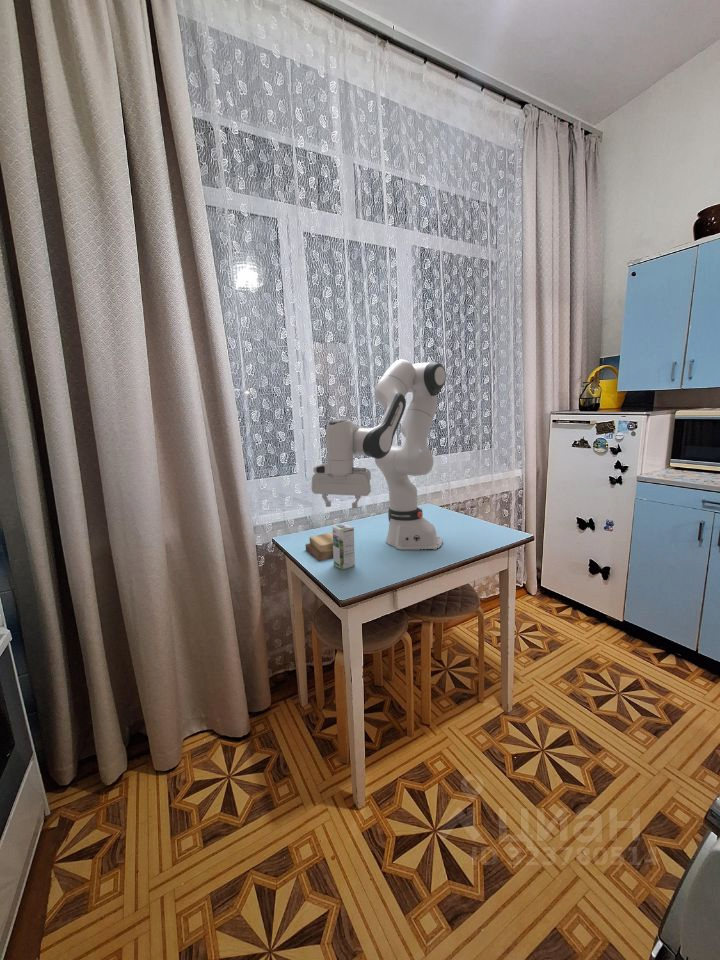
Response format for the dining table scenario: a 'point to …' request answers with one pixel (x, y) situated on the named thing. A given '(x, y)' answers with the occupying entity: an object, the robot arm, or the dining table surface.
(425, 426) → the robot arm
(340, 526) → the syrup box
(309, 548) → the walnut base slab
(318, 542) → the oak top slab
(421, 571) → the dining table surface
